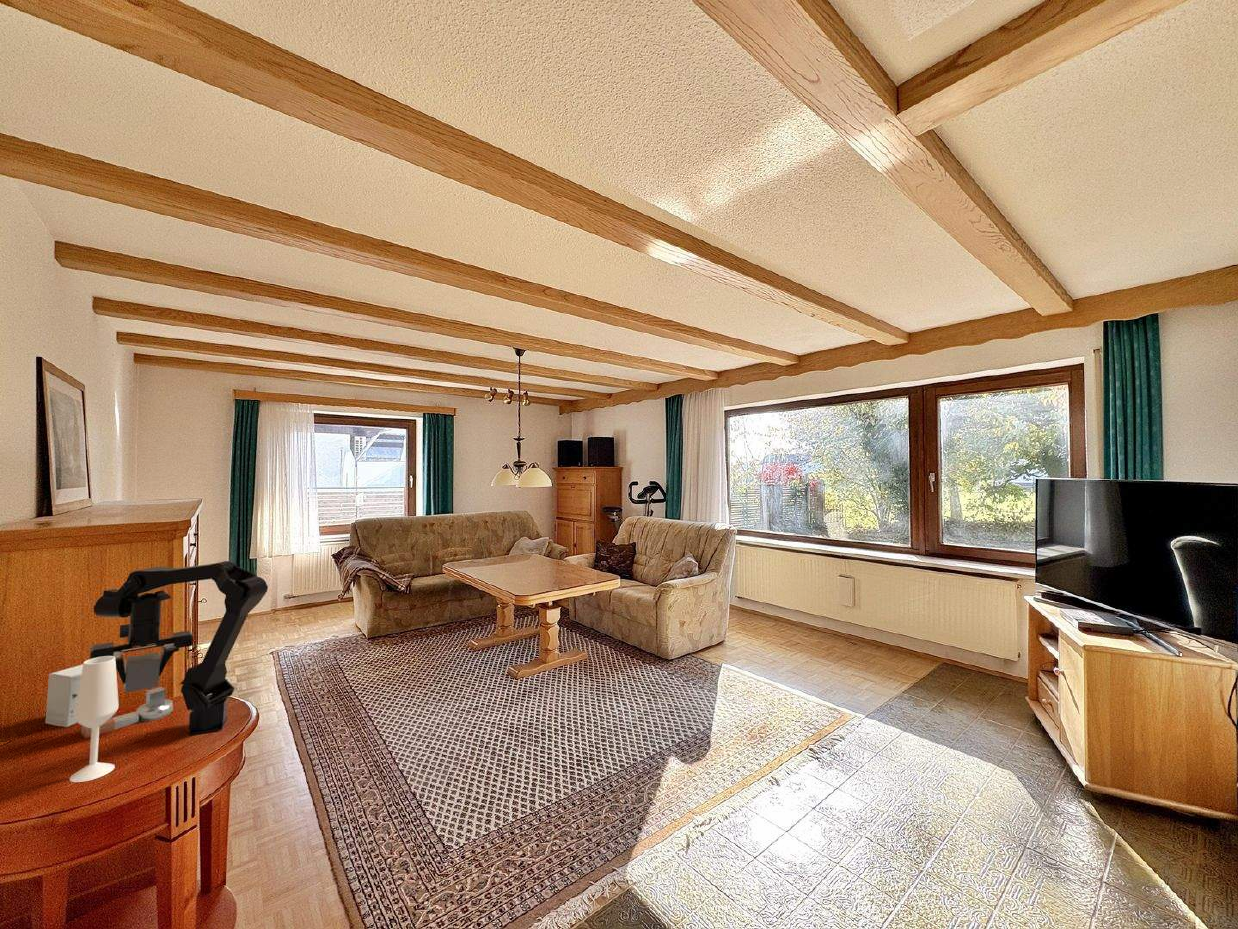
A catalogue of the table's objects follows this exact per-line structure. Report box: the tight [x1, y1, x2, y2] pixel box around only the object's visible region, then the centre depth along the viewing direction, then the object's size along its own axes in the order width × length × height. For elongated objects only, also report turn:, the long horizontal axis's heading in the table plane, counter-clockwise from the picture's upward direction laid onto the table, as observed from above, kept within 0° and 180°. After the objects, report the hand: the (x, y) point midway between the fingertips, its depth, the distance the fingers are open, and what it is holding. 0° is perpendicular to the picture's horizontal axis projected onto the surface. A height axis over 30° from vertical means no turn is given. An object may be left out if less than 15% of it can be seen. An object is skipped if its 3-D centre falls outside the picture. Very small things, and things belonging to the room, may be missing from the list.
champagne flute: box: [69, 656, 120, 783], centre depth 106 cm, size 7×7×24 cm
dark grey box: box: [123, 651, 161, 694], centre depth 125 cm, size 6×6×7 cm
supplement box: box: [45, 663, 84, 728], centre depth 127 cm, size 7×7×13 cm
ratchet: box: [80, 686, 174, 739], centre depth 127 cm, size 7×16×6 cm, turn 148°
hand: (141, 679), depth 125 cm, fingers closed on dark grey box, 6 cm apart
